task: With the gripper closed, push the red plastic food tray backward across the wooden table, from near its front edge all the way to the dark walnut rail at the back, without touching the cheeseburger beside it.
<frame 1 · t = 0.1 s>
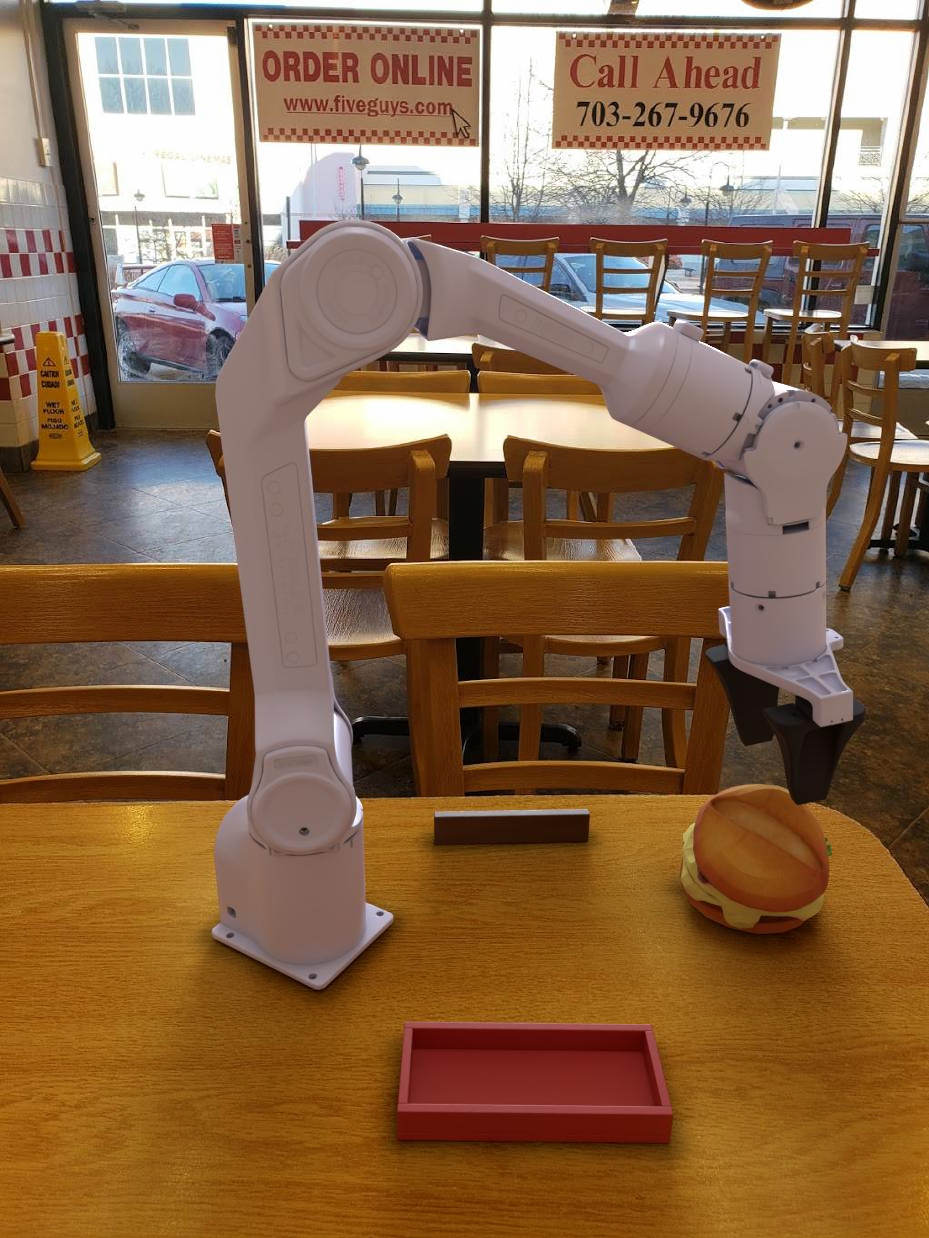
hand: (781, 768, 63), 11 cm above the table, tool pointing down, fingers open, 7 cm apart
cheeseburger: (749, 904, 66), on the table
back rail: (510, 840, 73), on the table
tray: (530, 1093, 51), on the table
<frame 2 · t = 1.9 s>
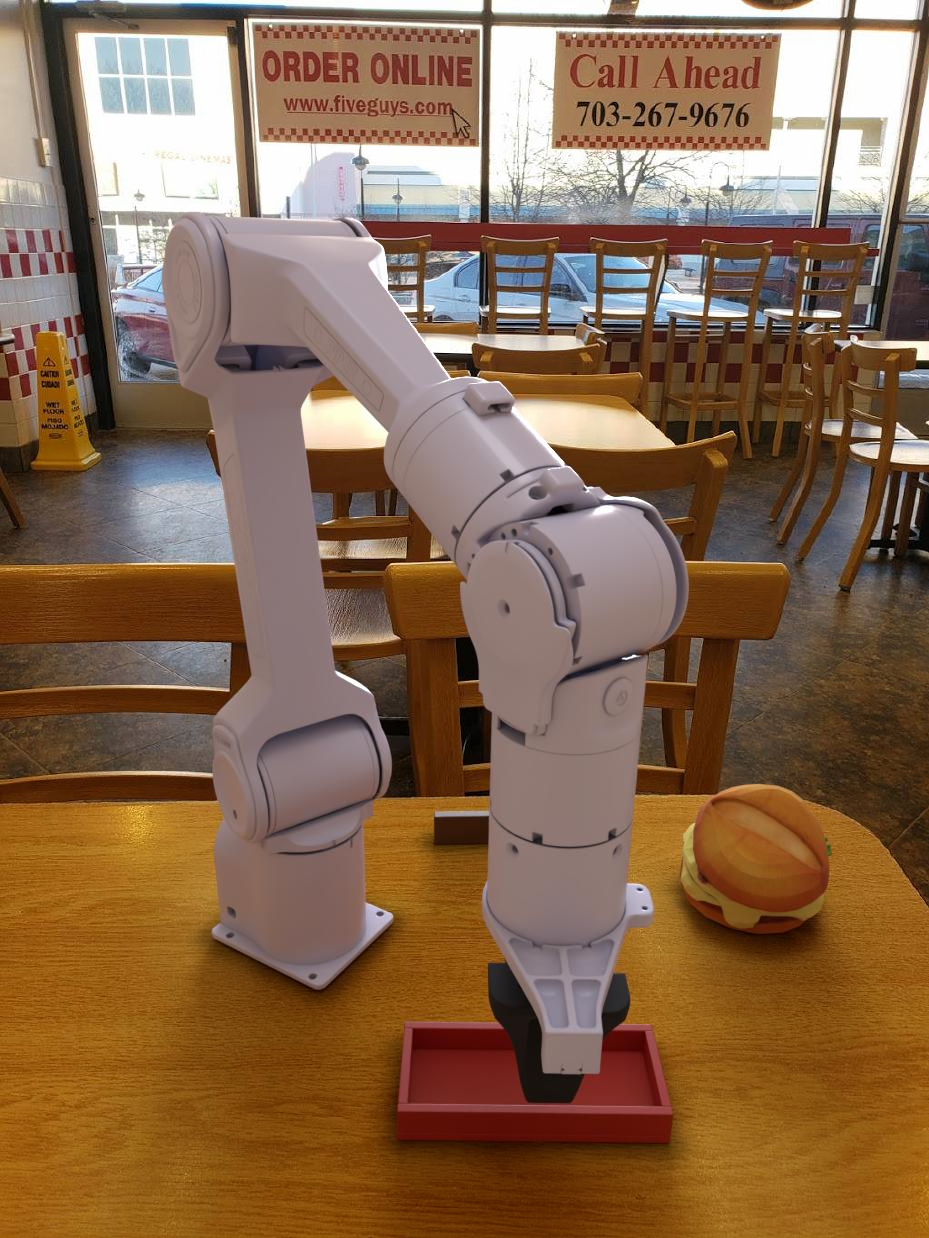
hand: (545, 1065, 42), 8 cm above the table, tool pointing down, fingers open, 3 cm apart
nothing on the table moved.
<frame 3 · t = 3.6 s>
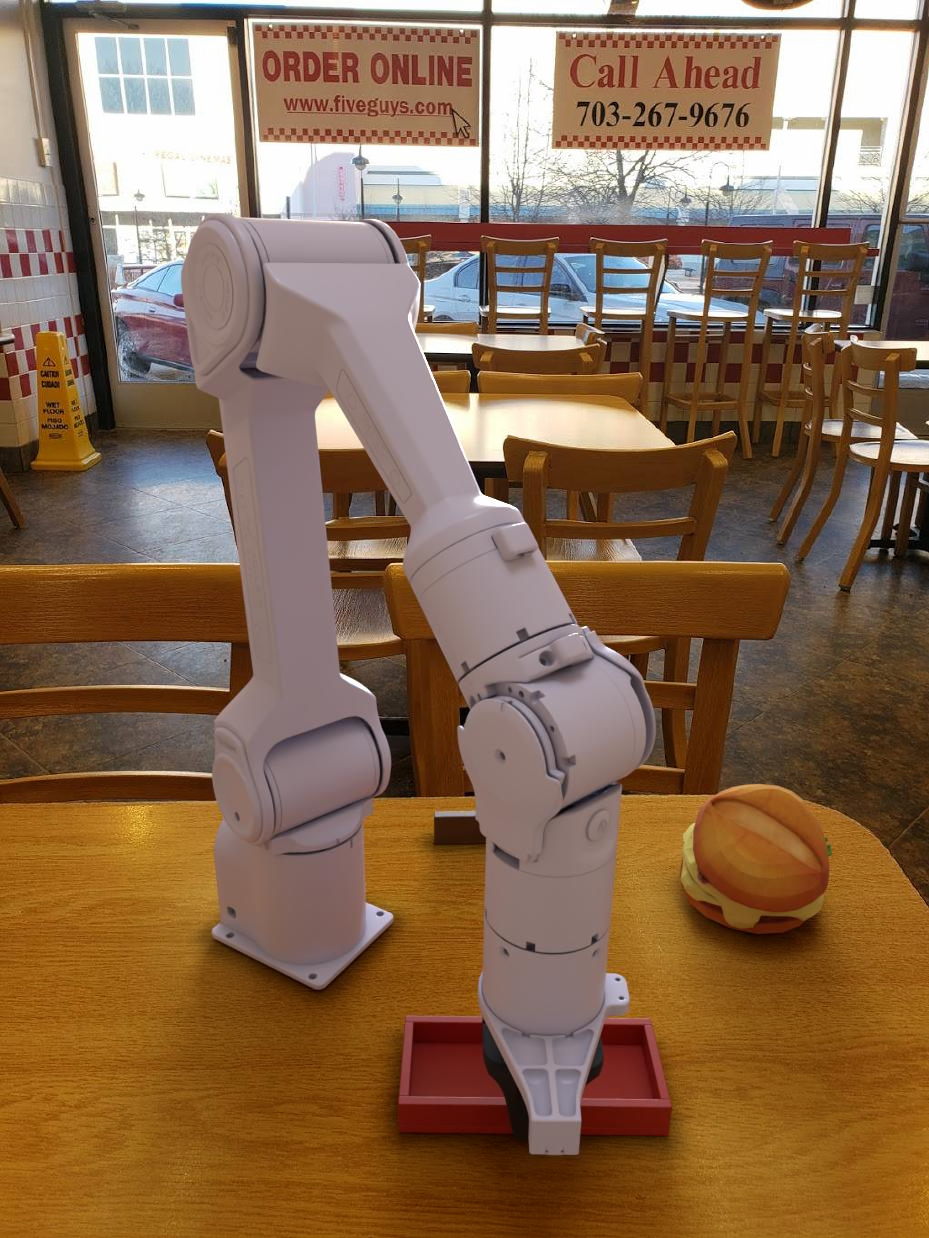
hand: (535, 1131, 47), 1 cm above the table, tool pointing down, fingers closed
tray: (530, 1086, 51), on the table, touching gripper
everything else where it was.
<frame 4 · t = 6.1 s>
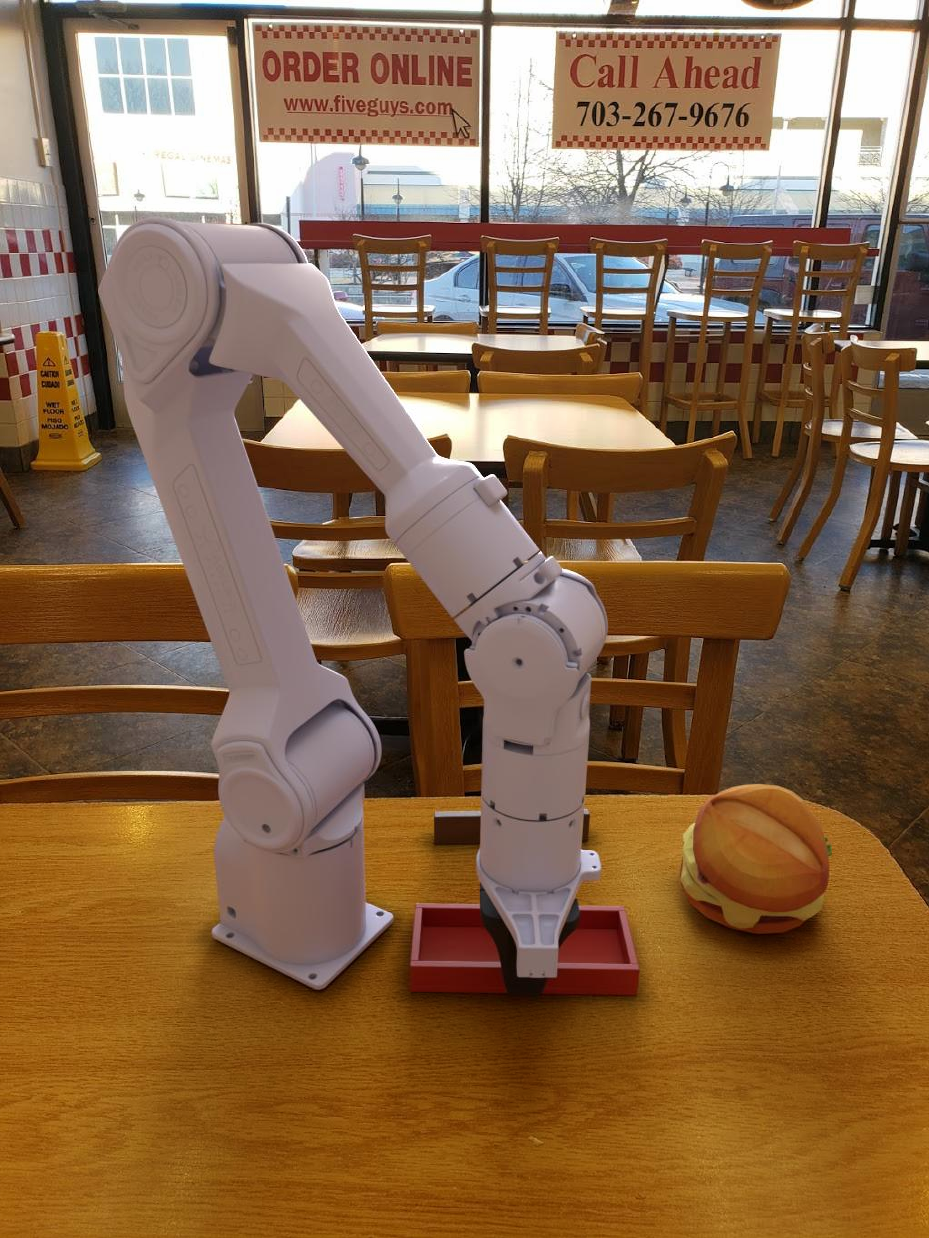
hand: (524, 987, 57), 1 cm above the table, tool pointing down, fingers closed
tray: (521, 959, 61), on the table, touching gripper
everything else where it was.
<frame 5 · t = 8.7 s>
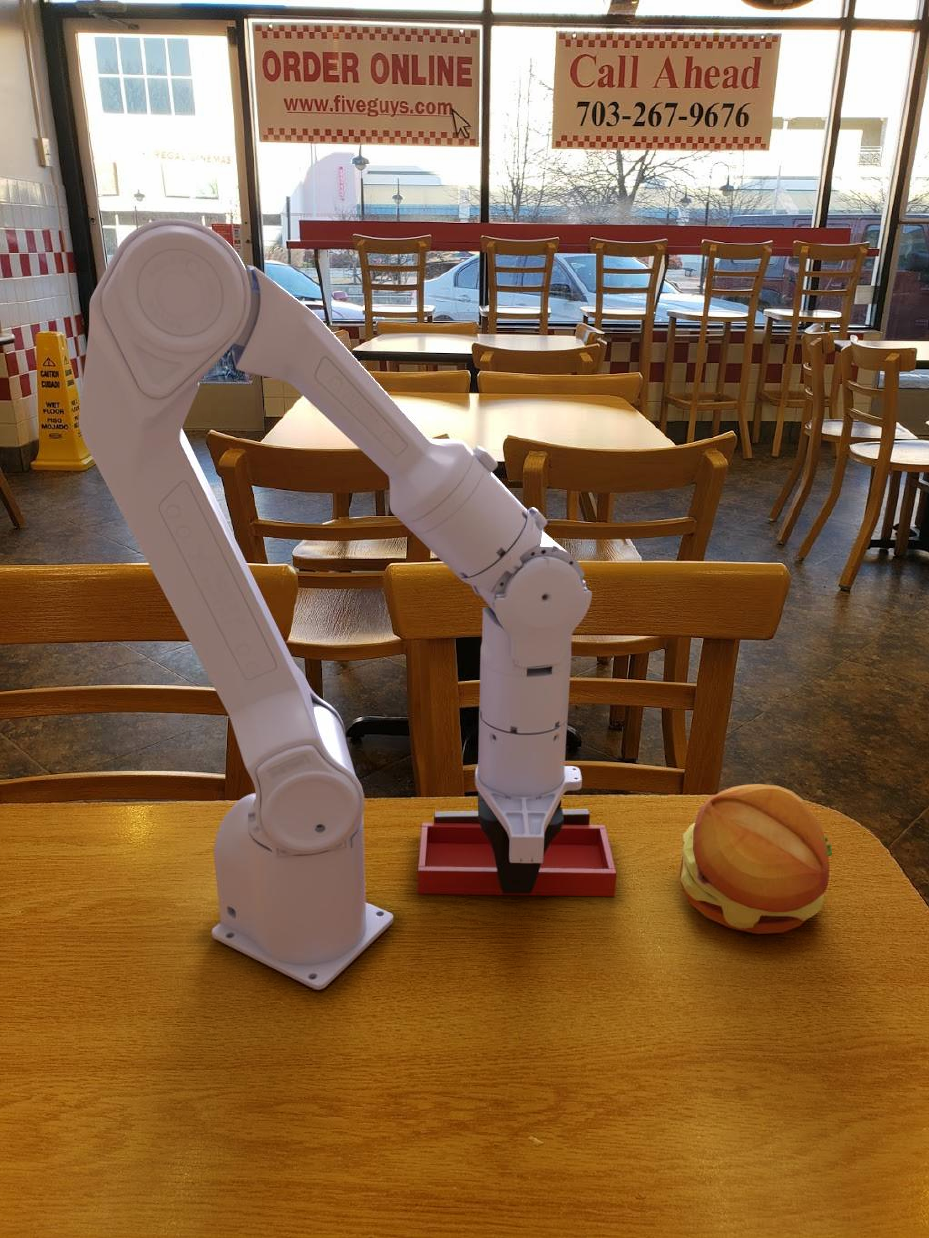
hand: (516, 888, 66), 1 cm above the table, tool pointing down, fingers closed
tray: (514, 869, 70), on the table, touching gripper
everything else where it was.
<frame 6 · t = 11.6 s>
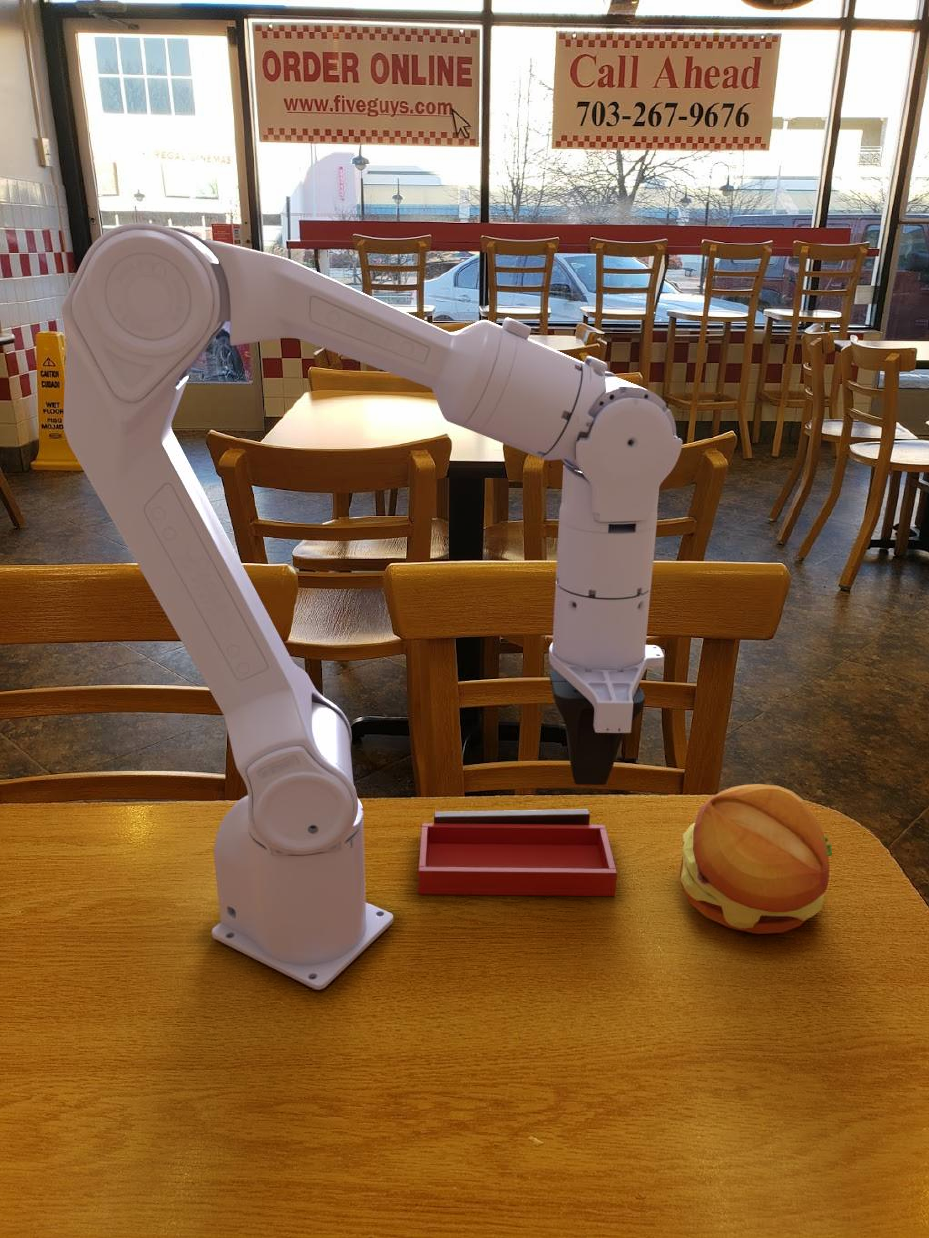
hand: (589, 779, 62), 10 cm above the table, tool pointing down, fingers closed
tray: (514, 869, 70), on the table
everything else where it was.
at the end: tray 0.5 cm from the target spot on the table beside the back rail, on the table; tray moved 19.9 cm from its start; cheeseburger moved 0.2 cm from its start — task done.
